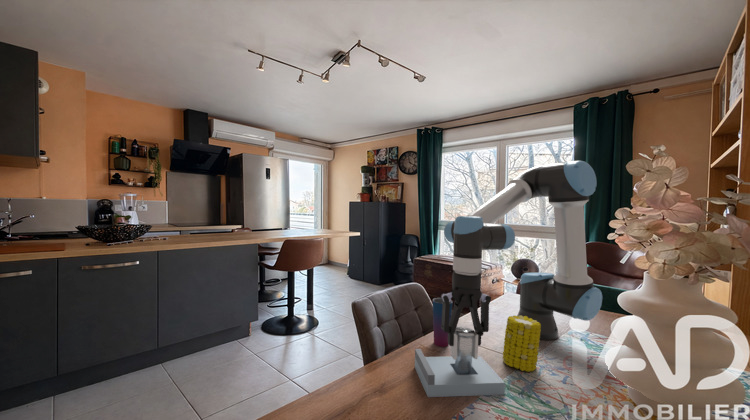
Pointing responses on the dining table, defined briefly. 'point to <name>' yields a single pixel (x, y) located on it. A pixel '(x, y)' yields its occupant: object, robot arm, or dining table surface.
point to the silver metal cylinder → (464, 348)
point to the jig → (456, 377)
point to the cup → (439, 323)
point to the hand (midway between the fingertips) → (463, 356)
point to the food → (521, 343)
